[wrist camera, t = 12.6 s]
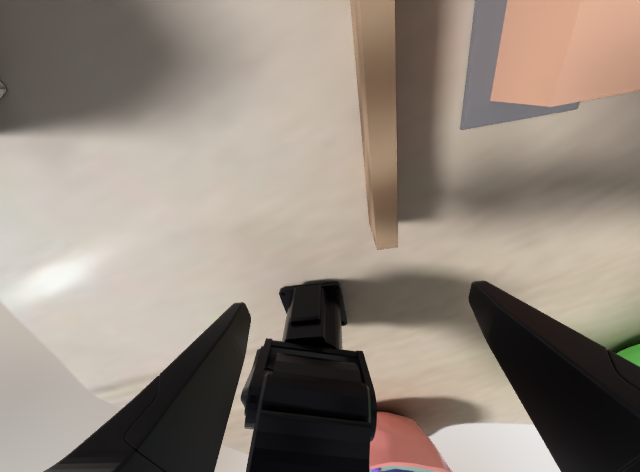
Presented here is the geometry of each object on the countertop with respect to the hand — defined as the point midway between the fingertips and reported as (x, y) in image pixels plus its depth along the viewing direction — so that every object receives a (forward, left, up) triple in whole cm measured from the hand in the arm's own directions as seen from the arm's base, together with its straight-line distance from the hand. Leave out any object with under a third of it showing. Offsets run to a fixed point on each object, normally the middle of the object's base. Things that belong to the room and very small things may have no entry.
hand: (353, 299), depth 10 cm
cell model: (-43, 0, -12) cm, 45 cm away
